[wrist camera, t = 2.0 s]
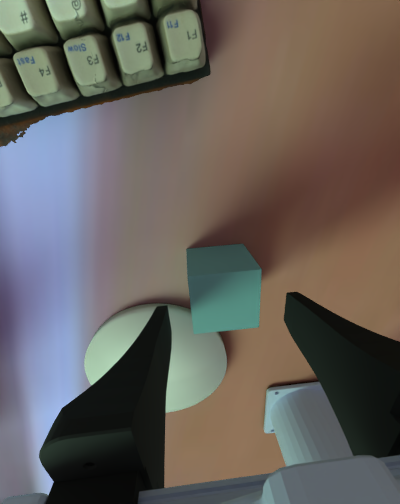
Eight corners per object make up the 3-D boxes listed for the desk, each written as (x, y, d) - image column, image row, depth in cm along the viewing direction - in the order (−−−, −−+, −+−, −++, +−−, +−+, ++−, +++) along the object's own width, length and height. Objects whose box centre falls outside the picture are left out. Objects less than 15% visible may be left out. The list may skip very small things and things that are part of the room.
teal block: (242, 243, 17) (261, 269, 13) (242, 290, 19) (258, 327, 15) (186, 248, 17) (187, 276, 13) (191, 296, 19) (193, 334, 15)
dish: (222, 296, 19) (225, 304, 18) (226, 393, 24) (228, 404, 23) (71, 311, 18) (64, 321, 17) (108, 407, 23) (104, 420, 22)
